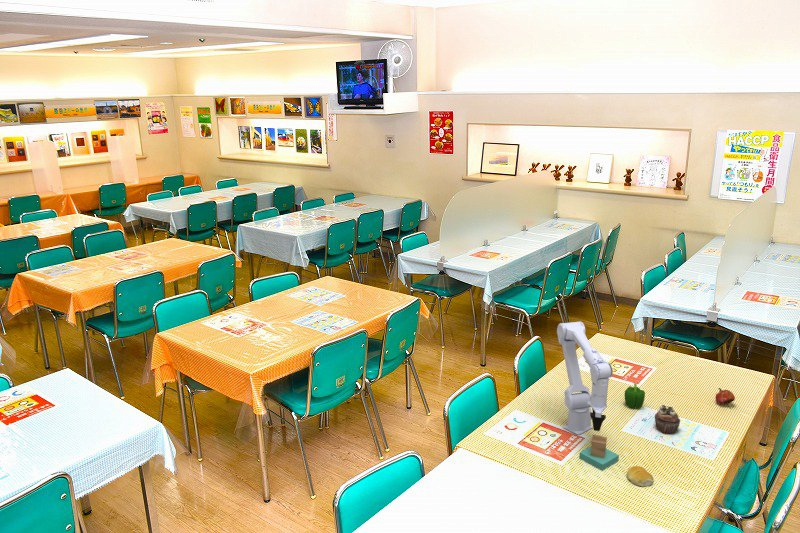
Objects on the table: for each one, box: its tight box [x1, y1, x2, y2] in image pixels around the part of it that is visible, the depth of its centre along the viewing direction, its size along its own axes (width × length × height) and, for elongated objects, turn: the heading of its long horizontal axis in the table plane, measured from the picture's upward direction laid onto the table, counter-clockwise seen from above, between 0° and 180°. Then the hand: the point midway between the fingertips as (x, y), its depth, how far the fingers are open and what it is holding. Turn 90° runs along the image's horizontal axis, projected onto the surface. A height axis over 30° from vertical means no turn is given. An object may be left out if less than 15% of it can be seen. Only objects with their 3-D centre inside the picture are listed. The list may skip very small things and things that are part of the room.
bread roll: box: [626, 465, 655, 487], centre depth 217 cm, size 8×9×4 cm
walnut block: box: [590, 434, 608, 458], centre depth 228 cm, size 5×5×6 cm
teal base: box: [578, 446, 620, 471], centre depth 229 cm, size 10×10×3 cm
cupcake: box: [654, 404, 681, 435], centre depth 248 cm, size 10×10×10 cm
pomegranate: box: [714, 387, 736, 410], centre depth 268 cm, size 7×7×10 cm
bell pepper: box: [624, 382, 646, 409], centre depth 267 cm, size 8×8×10 cm
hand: (596, 425), depth 235 cm, fingers open, 7 cm apart
